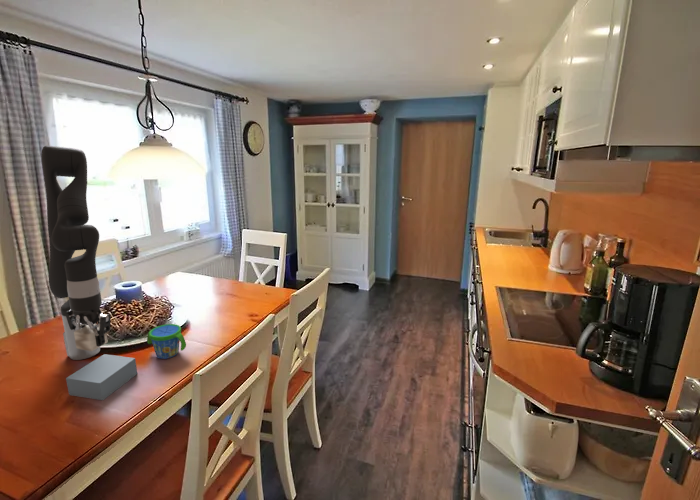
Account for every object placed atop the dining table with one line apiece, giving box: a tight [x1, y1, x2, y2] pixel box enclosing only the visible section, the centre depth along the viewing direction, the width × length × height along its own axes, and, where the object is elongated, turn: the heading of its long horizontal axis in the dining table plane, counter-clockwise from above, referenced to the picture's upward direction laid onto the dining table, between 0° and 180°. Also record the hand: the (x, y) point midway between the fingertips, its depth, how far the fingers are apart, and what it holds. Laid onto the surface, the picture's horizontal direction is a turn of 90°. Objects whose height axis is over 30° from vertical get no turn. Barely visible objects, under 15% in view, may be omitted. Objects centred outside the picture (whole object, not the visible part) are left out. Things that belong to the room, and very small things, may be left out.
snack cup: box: [146, 323, 187, 360], centre depth 130 cm, size 16×10×10 cm
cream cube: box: [74, 324, 109, 351], centre depth 106 cm, size 6×6×6 cm
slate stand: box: [65, 353, 138, 401], centre depth 113 cm, size 12×14×6 cm
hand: (92, 343), depth 106 cm, fingers closed on cream cube, 5 cm apart
